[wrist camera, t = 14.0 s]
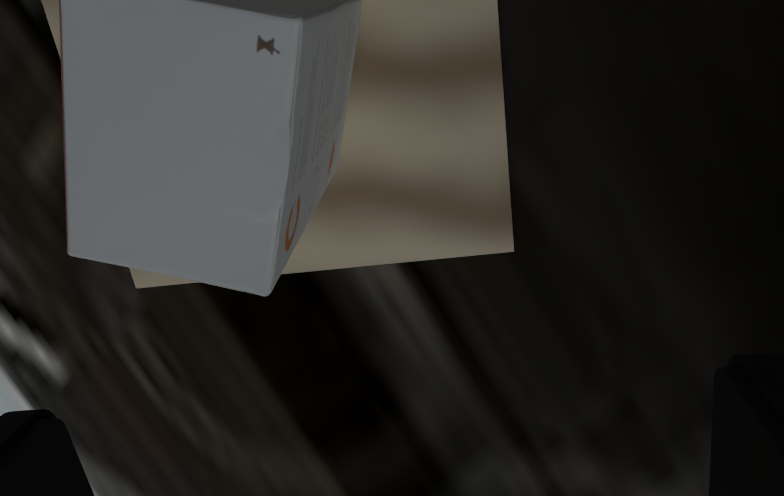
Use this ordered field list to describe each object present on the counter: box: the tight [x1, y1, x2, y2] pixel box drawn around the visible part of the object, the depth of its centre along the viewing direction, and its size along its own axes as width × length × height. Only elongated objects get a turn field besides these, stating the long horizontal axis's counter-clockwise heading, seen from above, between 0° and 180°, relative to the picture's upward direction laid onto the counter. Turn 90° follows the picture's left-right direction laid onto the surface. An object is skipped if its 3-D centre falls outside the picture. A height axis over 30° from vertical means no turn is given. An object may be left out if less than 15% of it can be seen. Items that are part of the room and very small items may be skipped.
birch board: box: [41, 0, 514, 288], centre depth 30 cm, size 20×20×2 cm
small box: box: [59, 0, 362, 296], centre depth 23 cm, size 8×6×13 cm
